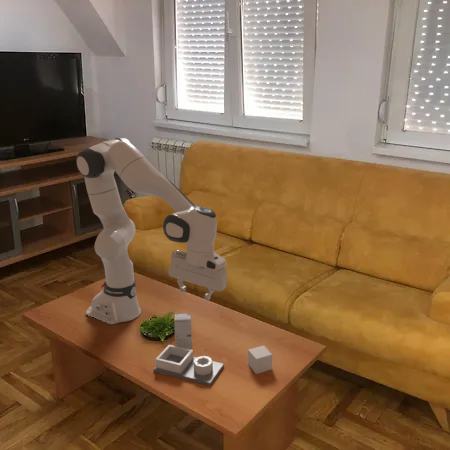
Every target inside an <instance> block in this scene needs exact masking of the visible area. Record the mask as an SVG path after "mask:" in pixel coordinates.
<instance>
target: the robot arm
mask: <svg viewBox="0 0 450 450" xmlns="http://www.w3.org/2000/svg"><path fill="white" fill-rule="evenodd" d="M75 164H76V168H77V170H78V172H79V173H80V174H81V175H82V176H83V177H84V183H85V187H86V192H87V195H88V199H89V202H90V206H91V209H92V213H93V214H94V215H96V216H97V217H98V218H99V220H100V222H101V224H102V226H103V229H102V230H101V231H100V232H99V234H98V235H97V237H96V238H95V242H94V251H95V253H96V255H98V256H99V258H101V260H102V264H103V269H104V276H105V281H104V282H103V283H102V284H101V285H100V288H101V289H103V290H101V291H100V292H99V293H97V294H95V296H94V297H93V298H92V300H91V305H90V306H89V307H88V308H87V310H86V312H85V314H86V316H87V315H88V316H87V317H90V316H91V317H90V318H92V317H94V318H93V319H95V318H96V319H95V320H97V319H98V321H100V320H101V321H100V322H103V323H105V322H106V323H105V324H108V325H115V324H118V323H124V322H130V321H133V320H136V318H138V317H139V316H140V315H141V313H142V310H141V307H140V304H139V300H138V297H137V285H136V284H137V282H136V279H135V274H134V273H135V272H134V263H133V261H132V260H131V259H130V256H129V253H128V247H129V244H130V243H131V242H132V240H133V239H134V237H135V234H136V225H135V223H134V221H133V220H132V219H130V218H129V216H128V214H127V212H126V210H125V208H124V206H123V203H122V199H121V196H120V192H119V189H118V185H117V182H116V179H115V176H114V175H115V173H116V174H117V176H118V177H119V178H120V179H121V181H122V182H123V183H124V185H125V186H126V187H127V188H129V189H130V190H131V191H133V192H134V193H137V194H143V195H150V196H155V197H158V198H159V199H162V200H164V201H165V202H166V203H167V204H168V205H169V206H170V208H172V209H173V210H174V211H175V212H173V213H171V214H169V215H167V216H166V217H165V218H164V220H163V222H162V223H163V224H162V230H163V234H164V235H165V237H166V238H167V239H168V240H169V241H171V242H175V243H180V244H181V243H186V252H185V251H181V250H177V249H175V250H174V251H172V252H171V254H170V263H169V267H168V272H167V273H168V276H169V277H170V278H174V279H177V280H176V281H177V284H178V286H179V289H178V291H179V292H180V293H185V292H186V289H187V286H185V285H184V282H186V283H191V284H194V285H197V286H200V287H203V288H206V289H208V292H207V293H205V294H204V297H203V299H204V300H206V301H210V300H211V297H212V294H213V293H214V292H215V291H216V292H222V291H224V289H225V288H226V287H227V281H228V280H227V279H228V271H227V269H226V265H227V263H228V261H227V260H226V258H224V257H222V256H221V255H220V254H218V253H216V252H215V246H214V245H215V244H214V243H215V240H216V239H217V238H216V237H217V228H218V217H217V214H216V212H215V211H213V210H212V209H211V208H208V207H204V206H198V205H196V204H195V203H193V202H192V201H191V200H190V199H189V198H188V197H187V196H186V195H185V194H184V193H183V192H182V191H181V190H180V189H179V188H178V187H177V186H176V185H175V184H174V183H173V182H172V181H171V180H170V179H169V178H167V177H166V176H165V175H164V174H162V173H161V172H160V171H158V170H157V168H156V167H154V165H153V164H152V163H151V162H150V161H149V160H148V159H147V158H146V156H145V155H144V154H143V153H142V152H141V151H140V150H139V149H138V148H137V147H136V146H135V145H134V144H132V142H131V141H130V140H129V139H127V138H125V137H117V138H114V139H109V140H104V141H102V142H99V143H98V144H95V145H93V146H90V147H86V148H84V149H82V150H81V151H79V152H78V153H77V155H76V158H75Z"/></svg>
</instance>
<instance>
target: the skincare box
mask: <svg viewBox="0 0 450 450" xmlns="http://www.w3.org/2000/svg"><path fill="white" fill-rule="evenodd" d="M173 321H174V324H173V325H174V346H178V347H182V348H186V349H191V350H192V344H193V337H192V314H191V313H175V314H174V320H173Z"/></svg>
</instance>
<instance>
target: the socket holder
mask: <svg viewBox="0 0 450 450" xmlns="http://www.w3.org/2000/svg"><path fill="white" fill-rule="evenodd" d="M224 365H225V364H224V363H223V362H218V361H214V360H212V358H211V357H210V356H207V355H206V356H205V355H202V356H198V357H196V356H194V350H193V349H192V348H191V349H186V348H182V347H178V346H175V345H173V344H168V345H167V346H166V347H165V348H164V350H162V351H161V352H160V353H159V355H157V356H156V358H155V366H154V367H153V372H155V373H159V374H163V375H166V376H171V377H175V378H178V379H182V380H186V381H190V382H192V383H198V384H202V385H206V386H209V387H211V386H212V384H213V383H214V382H215V380H216V378H217V377H218V375H220V373H221V371H222V370H223V368H224Z"/></svg>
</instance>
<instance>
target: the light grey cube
mask: <svg viewBox="0 0 450 450" xmlns="http://www.w3.org/2000/svg"><path fill="white" fill-rule="evenodd" d="M269 350H270V349H268V348H267V347H266V346H265V345H261V346H256V347H252V348H249V349H247V359H248V360H247V365H248V366H249V367H250V368H251V369H252V371H253V372H254V373H255V375H258V374H261V373H264V372H268V371H271V370H273V353H271V351H269Z"/></svg>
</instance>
